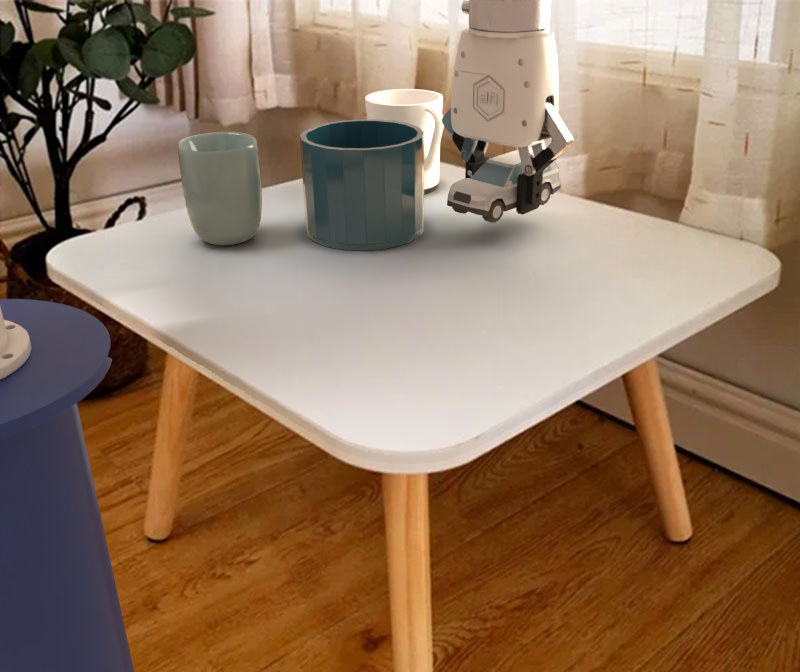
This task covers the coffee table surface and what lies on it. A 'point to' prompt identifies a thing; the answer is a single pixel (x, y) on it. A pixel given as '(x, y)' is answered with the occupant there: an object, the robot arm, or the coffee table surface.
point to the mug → (413, 121)
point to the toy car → (497, 187)
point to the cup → (222, 185)
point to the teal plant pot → (363, 183)
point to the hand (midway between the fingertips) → (502, 202)
